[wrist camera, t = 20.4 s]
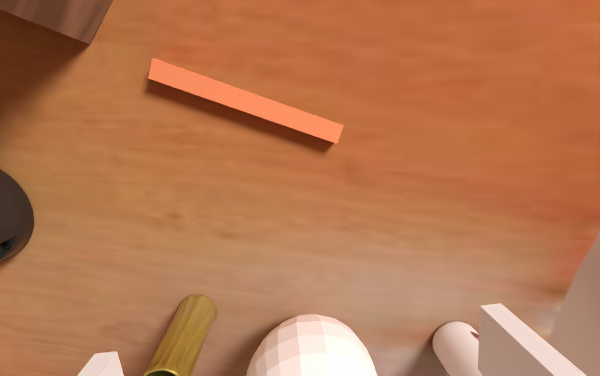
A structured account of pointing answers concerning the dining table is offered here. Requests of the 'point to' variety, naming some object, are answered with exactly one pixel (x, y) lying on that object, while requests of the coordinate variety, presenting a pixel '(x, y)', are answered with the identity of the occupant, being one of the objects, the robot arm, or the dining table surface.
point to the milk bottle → (457, 348)
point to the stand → (62, 15)
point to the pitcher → (311, 350)
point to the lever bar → (244, 100)
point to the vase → (183, 338)
